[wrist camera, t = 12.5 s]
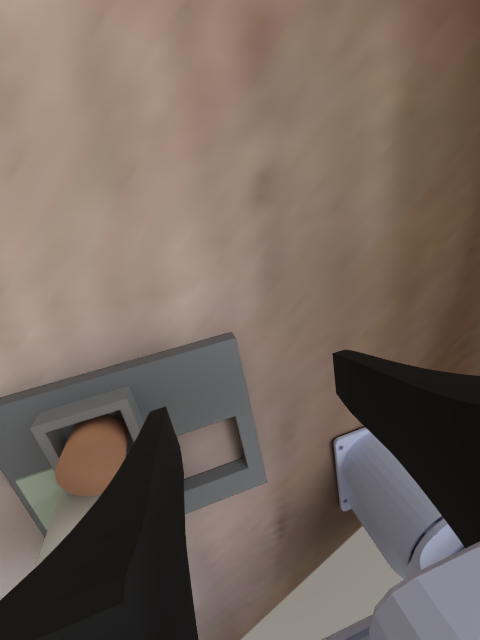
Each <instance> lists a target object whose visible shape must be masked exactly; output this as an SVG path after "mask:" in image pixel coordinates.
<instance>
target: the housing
mask: <svg viewBox="0 0 480 640" xmlns="http://www.w3.org/2000/svg"><path fill="white" fill-rule="evenodd" d="M165 406H166V408H167V411H168V414H169V417H170V420H171V422H172V425H173V428H174V431H175V434H176V436H178V435H181V434H184V433H187V432H190V431H193V430H196V429H199V428H202V427H205V426H207V425H210V424H213V423H216V422H219V421H222V420H225V419H228V418H231V417H235V421H236V425H237V429H238V433H239V437H240V441H241V445H242V449H243V453H244V457H245V458H242V459H239V460H236V461H234V462H231V463H228V464H225V465H223V466H220V467H217V468H214V469H212V470H209V471H206V472H203V473H201V474H198V475H195V476H192V477H190V478H187V479H184V503H185V514H187V513H189V512H192V511H194V510H197V509H200V508H202V507H205V506H207V505H210V504H213V503H215V502H218V501H220V500H223V499H226V498H228V497H231V496H233V495H236V494H239V493H241V492H244V491H246V490H249V489H252V488H254V487H257V486H260V485H262V484H265V483H267V478H266V474H265V469H264V465H263V460H262V455H261V451H260V446H259V442H258V437H257V433H256V428H255V424H254V419H253V415H252V410H251V405H250V401H249V396H248V392H247V387H246V383H245V378H244V374H243V369H242V365H241V360H240V355H239V351H238V346H237V342H236V338H235V336H234V335H233V333H232V332H230V333H226V334H223V335H219V336H216V337H212V338H209V339H205V340H202V341H198V342H195V343H191V344H188V345H184V346H181V347H177V348H174V349H170V350H167V351H163V352H159V353H156V354H152V355H149V356H145V357H142V358H138V359H135V360H131V361H128V362H124V363H121V364H117V365H114V366H110V367H107V368H103V369H100V370H96V371H93V372H89V373H86V374H82V375H79V376H75V377H72V378H68V379H65V380H61V381H57V382H54V383H50V384H47V385H43V386H40V387H36V388H33V389H29V390H26V391H22V392H19V393H15V394H12V395H8V396H5V397H1V398H0V469H1V471H2V472H3V474H4V475H5V477H6V478H7V480H8V481H9V483H10V485H11V486H12V488H13V489H14V491H15V492H16V494H17V495H18V497H19V498H20V500H21V501H22V503H23V505H24V506H25V508H26V509H27V511H28V512H29V514H30V515H31V517H32V518H33V520H34V522H35V523H36V525H37V526H38V528H39V529H40V531H41V532H42V534H43V535H44V537H46V534H47V531H48V528H49V525H50V522H51V519H52V516H53V513H54V510H55V507H56V504H57V501H58V498H59V496H60V494H61V492H62V491H63V489H62V488H61V487H60V486H59V484H58V483H57V481H56V478H55V469H56V465H57V463H58V461H59V458H60V456H61V454H62V451H63V449H64V447H65V444H66V442H67V440H68V437H69V435H70V433H71V430H72V428H73V427H74V425H75V424H76V423H79V422H82V421H85V420H88V419H92V418H95V417H98V416H101V415H104V414H109V415H113V416H115V417H117V418H119V419H120V420H122V421H123V422H124V424H125V425H126V427H127V429H128V443H127V450H126V456H127V455H128V453H129V451H130V449H131V447H132V446H133V444H134V442H135V440H136V438H137V436H138V434H139V432H140V430H141V428H142V426H143V424H144V422H145V420H146V418H147V416H148V414H149V413H150V411H153V410H156V409H159V408H162V407H165ZM126 456H125V458H126ZM66 493H67V495H68V496H69V495H71V493H68V492H67V491H66Z"/></svg>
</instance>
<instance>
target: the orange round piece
mask: <svg viewBox="0 0 480 640" xmlns="http://www.w3.org/2000/svg"><path fill="white" fill-rule="evenodd" d="M127 443H128V429H127V427H126V425H125V424H124V422H123V421H122V420H120V419H119V418H117V417H115V416H113V415H109V414H104V415H101V416H98V417H95V418H92V419H88V420H85V421H82V422H79V423H76V424H75V425H74V427H73V428H72V430H71V433H70V435H69V437H68V440H67V442H66V444H65V447H64V449H63V451H62V454H61V456H60V458H59V461H58V463H57V465H56V469H55V478H56V481H57V483H58V484H59V486H60V487H61V488H62V489H64V490H65V491H67V492H68V493H71V494H74V495H78V496H94V495H98V494H101V493H103V491H104V490H105V489H106V487H107V486H108V485H109V483H110V482H111V480H112V479H113V477H114V476H115V474H116V473H117V471H118V469H119V468H120V466H121V465H122V463H123V461H124V460H125V456H126V450H127Z"/></svg>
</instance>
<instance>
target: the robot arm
mask: <svg viewBox="0 0 480 640" xmlns="http://www.w3.org/2000/svg"><path fill="white" fill-rule="evenodd" d="M333 363H334V374H335V385H336V394H337V395H338V396H339V398H340V399H341V400H342V402H343V403H344V404H345V406H346V407H347V408H348V410H349V411H350V412H351V413H352V414H353V415H354V416H355V417H356V418H357V419H358V420H359V421H360V422H361V423H362V424H363V425H364V426H365V427H364V428H362V429H359V430H356V431H354V432H351V433H348V434H346V435H343V436H340V437H337V438H336V439H335V440H334V443H333V444H334V453H335V463H336V473H337V482H338V492H339V502H340V508H341V509H342V511H347V510H350V509H352V510H353V512H354V513H355V515H356V516H357V518H358V519H359V521H360V522H361V524H362V525H363V527H364V528H365V530H366V531H367V532H368V534H369V535H370V537H371V538H372V540H373V541H374V543H375V544H376V546H377V547H378V549H379V550H380V552H381V553H382V555H383V556H384V558H385V559H386V561H387V562H388V564H389V565H390V566H391V568H392V569H393V570H394V571H395V572H396V573H397V574H398V575H400V576H401V577H402V578H404V580H403V581H401V582H400V583H398V584H397V585H395V586H394V587H392V588H391V589H390V590H389V591H388V592H387V593H386V595H385V596H384V597H383V598H382V599H381V600H380V602H379V603H378V604H377V605H376V607H375V609H374V613H373V615H371V616H369V617H367V618H365V619H363V620H361V621H358V622H356V623H355V624H352V625H350V626H348V627H346V628H344V629H342V630H340V631H338V632H336V633H334V634H332V635H330V636H329V637H326V638H324V639H322V640H480V376H473V375H463V374H455V373H448V372H442V371H435V370H429V369H424V368H419V367H415V366H410V365H406V364H401V363H397V362H393V361H389V360H386V359H382V358H378V357H374V356H371V355H367V354H363V353H359V352H355V351H351V350H342V351H339V352H336V353H333ZM0 640H198V634H197V626H196V619H195V612H194V604H193V597H192V589H191V581H190V573H189V565H188V556H187V548H186V535H185V503H184V471H183V464H182V457H181V451H180V446H179V443H178V440H177V437H176V434H175V431H174V428H173V425H172V422H171V420H170V417H169V414H168V411H167V408H166V406H165V407H162V408H159V409H156V410H153V411H150V413H149V414H148V416H147V418H146V420H145V422H144V424H143V426H142V428H141V430H140V432H139V434H138V436H137V438H136V440H135V442H134V444H133V446H132V447H131V449H130V451H129V453H128V455H127V456H126V458H125V460H124V461H123V463H122V465H121V466H120V468H119V469H118V471H117V473H116V474H115V476H114V477H113V479H112V480H111V482H110V483H109V485H108V486H107V487H106V489H105V490H104V491H103V493H102V494H101V496H100V497H99V498H98V499H97V501H96V502H95V503H94V504H93V506H92V507H91V508H90V509H89V510H88V512H87V513H86V514H85V515H84V516H83V518H82V519H81V520H80V521H79V522H78V524H77V525H76V526H75V527H74V528H73V529H72V530H71V532H70V533H69V534H68V535H67V536H66V537H65V538H64V539H63V540H62V541H61V542H60V543H59V545H58V546H57V547H56V548H55V549H54V550H53V551H52V552H51V553H50V554H49V555H48V556H47V557H46V558H45V559H44V560H43V561H42V562H41V563H40V564H39V565H38V566H37V567H36V568H35V569H34V570H33V571H32V572H30V573H29V574H28V575H27V576H26V577H25V578H24V579H23V580H22V581H21V582H20V583H19V584H18V585H16V586H15V587H14V588H13V589H12V590H11V591H10V592H9V593H8V594H7V595H6V596H5V597H4V598H3V599H1V600H0Z"/></svg>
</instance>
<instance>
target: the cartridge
mask: <svg viewBox="0 0 480 640" xmlns="http://www.w3.org/2000/svg"><path fill="white" fill-rule="evenodd" d="M101 494H102V493H101ZM101 494H98V495H94V496H78V495H74V494H71V495H69V496H68V495H67V493H66V491H65V490H64V489H63V491H62V492H61V494H60V496H59V498H58V501H57V504H56V507H55V510H54V513H53V516H52V519H51V522H50V525H49V528H48V531H47V534H46V537H45V540H44V543H43V546H42V548H41V551H40V554H39V557H38V560H37V563H36V566H35V568H36V567H37V566H38V565H39V564H40V563H41V562H42V561H43V560H44V559H45V558H46V557H47V556H48V555H49V554H50V553H51V552H52V551H53V550H54V549H55V548H56V547H57V546H58V545H59V543H60V542H61V541H62V540H63V539H64V538H65V537H66V536H67V535H68V534H69V533H70V532H71V530H72V529H73V528H74V527H75V526H76V525H77V524H78V522H79V521H80V520H81V519H82V518H83V516H84V515H85V514H86V513H87V512H88V510H89V509H90V508H91V507H92V506H93V504H94V503H95V502H96V501H97V499H98V498H99V497H100V496H101Z"/></svg>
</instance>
